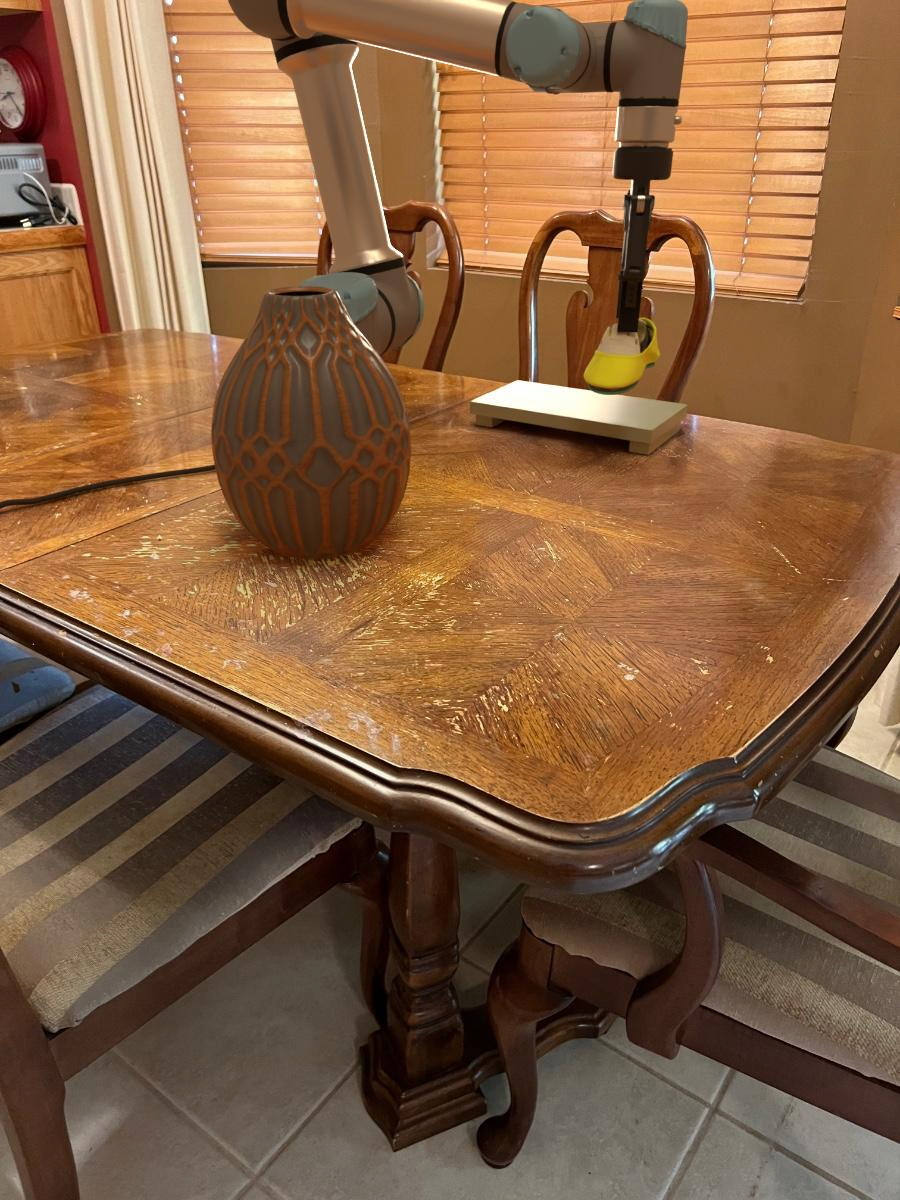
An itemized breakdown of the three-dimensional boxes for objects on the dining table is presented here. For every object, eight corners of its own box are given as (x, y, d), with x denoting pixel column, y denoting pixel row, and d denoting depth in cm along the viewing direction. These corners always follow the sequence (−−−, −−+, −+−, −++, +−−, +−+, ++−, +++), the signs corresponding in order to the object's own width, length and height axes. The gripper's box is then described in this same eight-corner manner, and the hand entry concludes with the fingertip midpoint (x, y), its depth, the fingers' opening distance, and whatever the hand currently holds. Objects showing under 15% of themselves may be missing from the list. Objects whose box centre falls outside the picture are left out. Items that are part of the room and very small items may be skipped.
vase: (288, 494, 111) (266, 272, 98) (440, 517, 104) (439, 282, 91) (186, 560, 93) (144, 301, 80) (361, 593, 86) (346, 315, 74)
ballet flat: (568, 392, 116) (572, 330, 112) (615, 360, 135) (620, 306, 132) (627, 399, 113) (634, 335, 109) (666, 365, 132) (673, 310, 129)
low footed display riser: (649, 457, 123) (652, 430, 122) (469, 426, 137) (469, 401, 136) (685, 429, 135) (688, 404, 134) (516, 403, 149) (517, 380, 148)
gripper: (680, 146, 101) (657, 341, 111) (668, 145, 120) (649, 311, 131) (616, 145, 102) (599, 339, 112) (613, 145, 121) (599, 310, 132)
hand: (626, 324), depth 121 cm, fingers closed on ballet flat, 10 cm apart
